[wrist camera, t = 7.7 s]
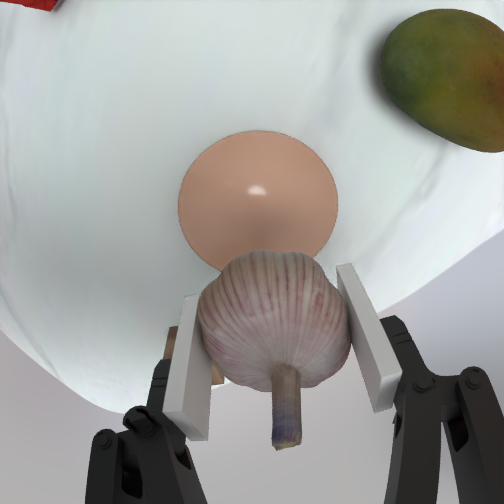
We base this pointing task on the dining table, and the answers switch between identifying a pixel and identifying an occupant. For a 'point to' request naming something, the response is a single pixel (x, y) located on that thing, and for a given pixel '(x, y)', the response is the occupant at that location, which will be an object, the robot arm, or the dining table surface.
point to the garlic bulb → (275, 330)
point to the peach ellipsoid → (257, 198)
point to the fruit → (449, 76)
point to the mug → (35, 3)
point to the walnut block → (168, 353)
